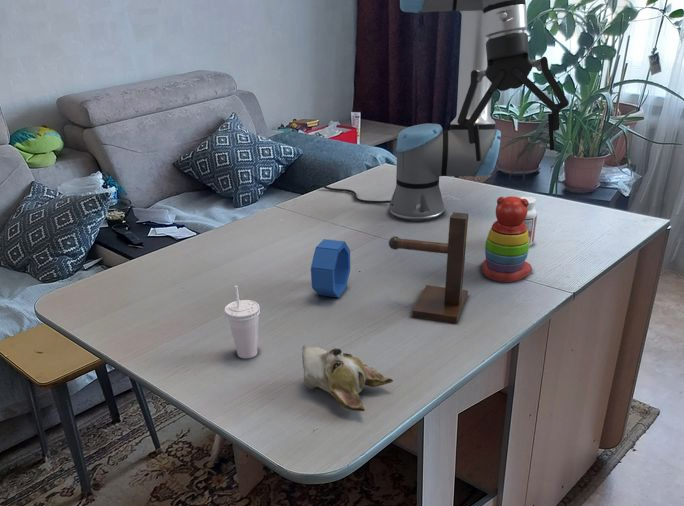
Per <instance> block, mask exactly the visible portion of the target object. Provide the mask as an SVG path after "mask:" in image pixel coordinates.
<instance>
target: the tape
mask: <svg viewBox="0 0 684 506" xmlns="http://www.w3.org/2000/svg"><path fill="white" fill-rule="evenodd" d="M350 273H351V249H350V247H349V246H348V244H347V243H346V241H344V240H336V239H327V238H323V239H322V240H321V241H320V242H319V243H318V244H317V245H316V247H315V249H314V253H313V257H312V260H311V266H310V278H311V279H310V280H311V289H312V290H313V291H314V292H315V293H316V294H317V295H318V296H324V297H331V298H332V297H333V298H338V299H339V298H340V297H341V296H342V295H343V293H344V292H345V291H346V289H347V286H348V281H349V277H350Z"/></svg>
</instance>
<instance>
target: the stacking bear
mask: <svg viewBox="0 0 684 506" xmlns="http://www.w3.org/2000/svg"><path fill="white" fill-rule="evenodd" d="M519 197H520V196H519ZM519 197H518V196H506V197H504V196H498V197H497V199H496V207H495V217H496V221H493V223H492V225H491V227H490V229H489V231H488V234H487V237H486V241H485V244H484V254H485V259H484V260H483V262H482V266H481V271H482V273H483V275H484V276H485V277H486V278H488V279H490V280H493V281H495V282H499V283H513V282H517V281H520V280H523V279H524V278H527V276H529V275H530V273H531V272H532V265H531V263H529V262H528V261H526V259H527V258H528V255H529V249H530V246H529V235H528V230H527V227H526V225H525V224H524V223H523V221H524V220H525V218H526V216H527V211H528V210H527V206H528V205H529V202H528V200H527V199H521V198H519Z"/></svg>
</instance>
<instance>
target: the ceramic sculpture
mask: <svg viewBox="0 0 684 506" xmlns="http://www.w3.org/2000/svg"><path fill="white" fill-rule="evenodd" d="M301 350H302V353H301V355H302V356H301V359H302V360H301V361H302V367H303V382H304V384H305V386H306V387H307V388H308V389H315V388H320V389H322V390H323V391H325V392H326V393H328V394H330V395H331V396H332V397H333V398H334V399H335V401H336V402H337V403H338V404H339V405H340V406H341V407H342V408H344V409H346V410H350V411H356V412H357V411H358V412H365V411H366V409H365V407H364V406H363V402H362V398H361V397H360V393H361V392H362V390H363V389H364V387H365V386H368V387H371V388H377V387H381V386H384V385H387V384H391V383H393V382H394V380H393V378H390V377H385V376H384V375H382V374H381V373H380V372H378V371H377V370H376V369H375V368H374V367H371V366H369V365H368V364H364V363H363V362H362V360H361V359H360V358H359V357H357V356H354V355H353V354H351V353H346V352H343V351H342V349H340V348H336V347H334V348H331V349H328V350H326V349H323V348H321V347H319V346H312V345H307V344H303V345H302V349H301Z"/></svg>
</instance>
